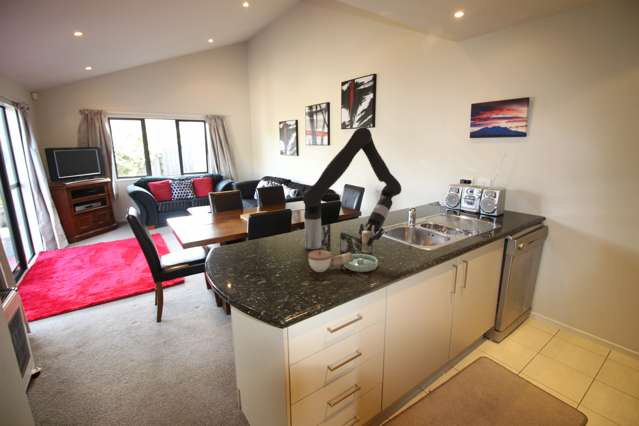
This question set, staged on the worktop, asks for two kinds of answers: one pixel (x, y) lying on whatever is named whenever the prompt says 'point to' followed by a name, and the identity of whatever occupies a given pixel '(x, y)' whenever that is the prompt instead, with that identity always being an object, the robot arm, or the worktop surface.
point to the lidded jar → (319, 260)
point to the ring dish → (362, 263)
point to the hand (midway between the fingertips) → (364, 244)
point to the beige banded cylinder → (341, 259)
